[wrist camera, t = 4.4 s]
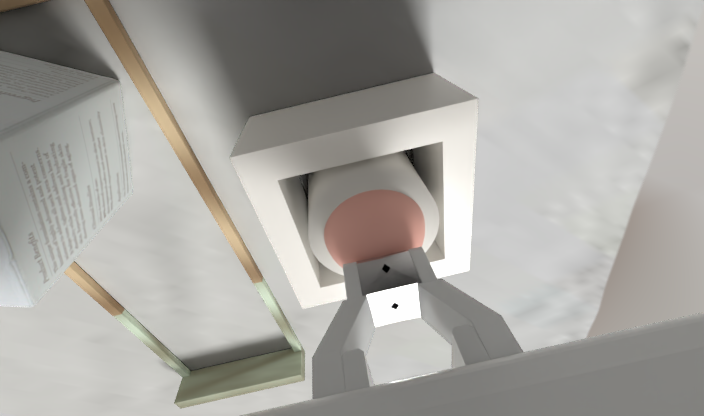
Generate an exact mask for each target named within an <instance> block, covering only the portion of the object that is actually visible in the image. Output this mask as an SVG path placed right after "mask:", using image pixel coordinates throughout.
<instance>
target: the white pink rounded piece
mask: <svg viewBox="0 0 704 416" xmlns="http://www.w3.org/2000/svg"><path fill="white" fill-rule="evenodd" d="M438 228H439V211H438V207H437V204H436V202H435V200H434V198H433V197H432V195H431V194H430V192H429V191H428V189H427V187H426V186H425V184H424V183H423V181H422V179H421V178H420V176H419V175H418V173H417V172H416V170H415V168H414V167H413V165H412V164H411V162H410V160H409V159H408V157H407V156H406V154H405V152H404V151H400V152H395V153H391V154H387V155H383V156H378V157H374V158H370V159H366V160H362V161H357V162H353V163H349V164H345V165H340V166H336V167H332V168H328V169H323V170H319V171H315V172H311V173H309V175H308V237H309V243H310V247H311V249H312V251H313V253H314V255H315V256H316V258H317V259H318V260H319V261H320V262H321V263H322V264H323V265H324V266H325V267H327V268H328V269H330V270H331V271H333V272H335V273H338V274H340V275H343V276H344V273H343V264H347V263H352V262H356V261H360V260H365V259H370V258H375V257H380V256H383V255H388V254H392V253H396V252H400V251H404V250H408V249H413V248H417V247H422V248H423V249H424V252H425V253H426V251H427V250H428V249H429V248H430V246H431V245H432V243H433V241H434V239H435V237H436V235H437V232H438Z"/></svg>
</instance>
